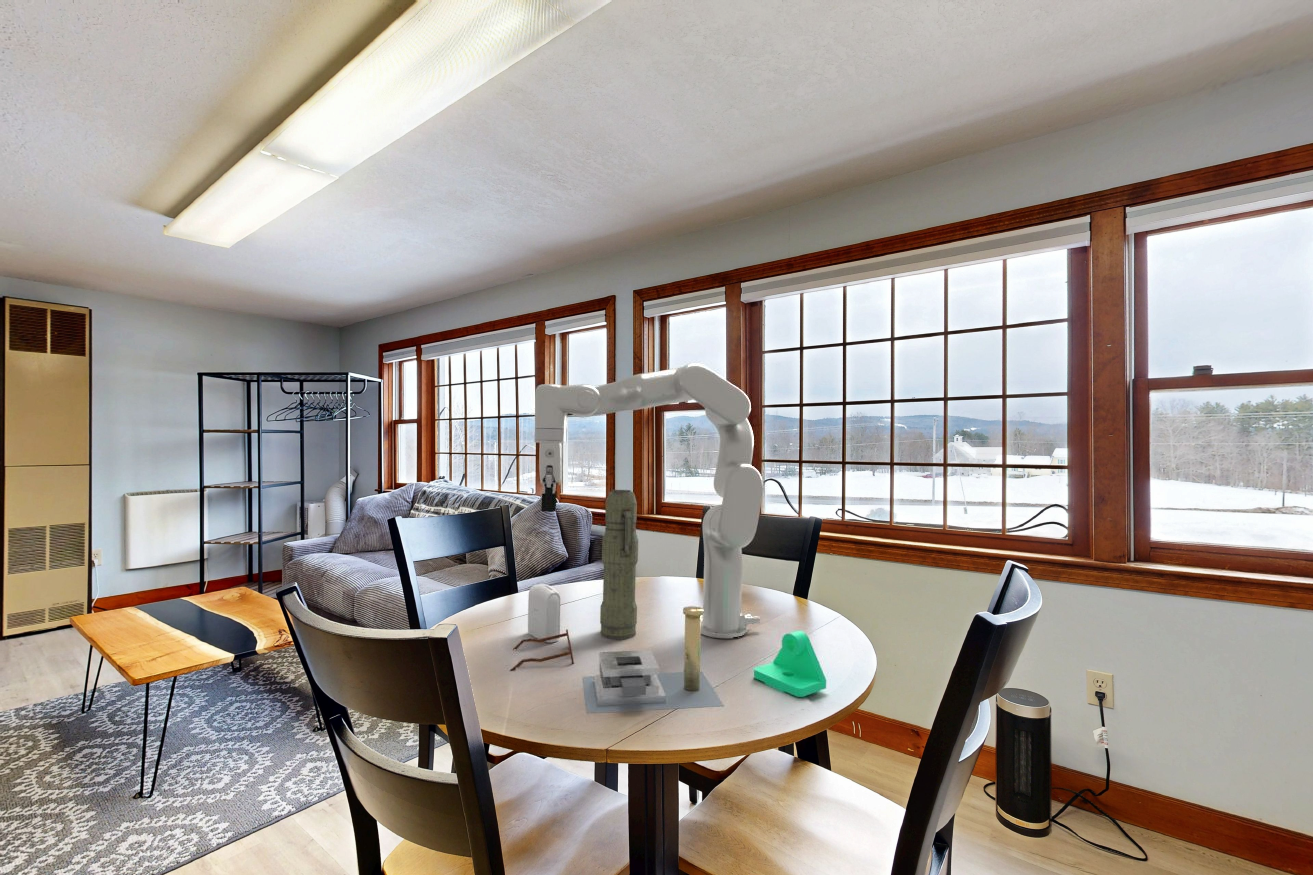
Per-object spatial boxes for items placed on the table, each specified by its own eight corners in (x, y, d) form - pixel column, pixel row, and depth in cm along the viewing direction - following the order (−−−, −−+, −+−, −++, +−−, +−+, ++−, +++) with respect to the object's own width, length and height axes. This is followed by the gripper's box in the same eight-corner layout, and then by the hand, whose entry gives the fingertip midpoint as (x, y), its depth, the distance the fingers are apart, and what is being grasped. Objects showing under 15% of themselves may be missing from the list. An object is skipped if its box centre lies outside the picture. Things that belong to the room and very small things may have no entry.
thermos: (623, 624, 151) (626, 488, 152) (645, 637, 141) (648, 491, 142) (591, 628, 147) (595, 488, 148) (612, 643, 137) (615, 492, 137)
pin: (699, 683, 112) (700, 606, 113) (703, 691, 109) (705, 611, 109) (679, 684, 112) (681, 606, 112) (683, 692, 108) (685, 612, 108)
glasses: (574, 669, 121) (575, 645, 121) (509, 673, 118) (510, 648, 118) (570, 648, 134) (571, 626, 134) (511, 651, 131) (512, 628, 131)
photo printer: (525, 633, 142) (526, 581, 143) (540, 630, 145) (542, 579, 145) (545, 644, 134) (547, 590, 135) (562, 641, 137) (563, 588, 137)
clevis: (655, 678, 115) (655, 649, 115) (668, 708, 101) (669, 675, 101) (593, 681, 112) (594, 651, 113) (598, 712, 99) (599, 679, 99)
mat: (701, 674, 119) (701, 671, 119) (724, 709, 103) (724, 705, 103) (582, 679, 115) (582, 676, 115) (586, 716, 99) (586, 713, 99)
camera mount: (751, 681, 116) (752, 629, 116) (777, 673, 121) (778, 623, 121) (799, 703, 106) (800, 646, 107) (826, 693, 111) (827, 639, 111)
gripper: (566, 436, 131) (565, 513, 131) (566, 437, 148) (564, 505, 148) (532, 435, 130) (530, 513, 130) (536, 437, 147) (534, 505, 147)
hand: (549, 509), depth 139 cm, fingers open, 9 cm apart
